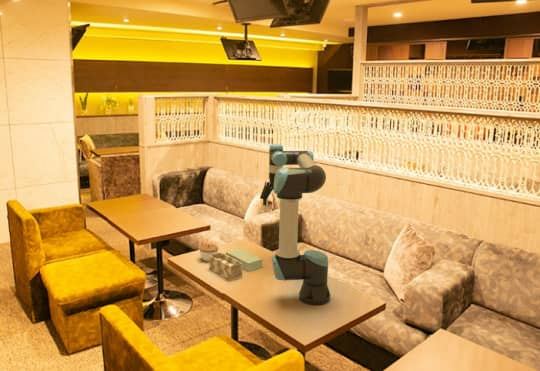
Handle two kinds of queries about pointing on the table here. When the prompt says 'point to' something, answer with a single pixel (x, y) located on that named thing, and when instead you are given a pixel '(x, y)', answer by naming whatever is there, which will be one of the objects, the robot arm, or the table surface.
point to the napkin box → (225, 266)
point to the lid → (245, 259)
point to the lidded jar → (208, 251)
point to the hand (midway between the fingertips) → (275, 208)
